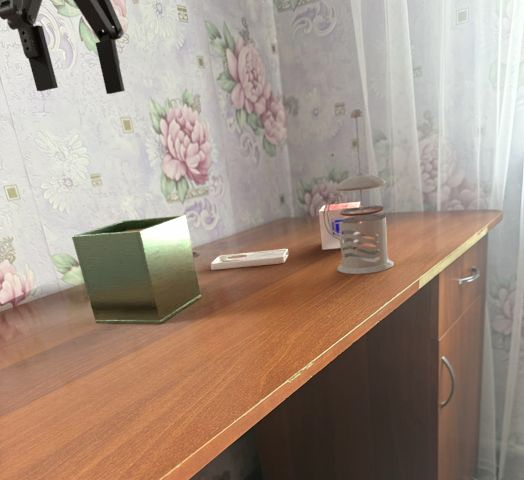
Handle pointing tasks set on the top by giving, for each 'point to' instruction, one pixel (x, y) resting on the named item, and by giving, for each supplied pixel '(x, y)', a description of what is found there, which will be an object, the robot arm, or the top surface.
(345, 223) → the french press
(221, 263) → the phone case
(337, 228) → the white red box
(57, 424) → the top surface
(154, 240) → the waste bin
